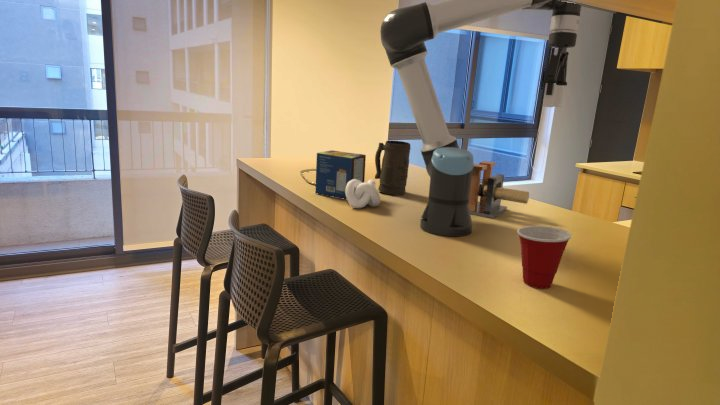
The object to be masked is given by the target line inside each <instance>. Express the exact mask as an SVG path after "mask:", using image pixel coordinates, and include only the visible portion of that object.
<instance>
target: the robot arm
mask: <svg viewBox="0 0 720 405" xmlns="http://www.w3.org/2000/svg"><path fill="white" fill-rule="evenodd" d="M582 5H583V4H582ZM582 5H579V4H574V3H567V2H561V1H557V0H442V1H438V2H436V3H430V2H427V1H425V2H422V3H417V4H413V5H409V6H404V7H401V8H396V9H393V10H392V11H390V12H389V13H387V14H386V16H385V17H384V18H383V20H382V22H381V25H380V40H381V44H382V47H383V49H384V50H385V53H386V56H387V59H388V62H389V65H390V67H391V68H393V69H395V70H396V71H397V72H398V74H399V78H400V81H401V83H402V87H403V90H404V93H405V95H406V99H407V101H408V104H409V107H410V109H411V114H412V116H413V118H414V122H415V124H416V127H417V130H418V132H419V135H420V138H421V141H422V146H421V148H420V153H421V156H422V159H423V161H424V164H425V169H426V172H427V175H428V176H429V177H430V180H429V189H428V191H429V192H428V199H427V200H428V201H427V204H426V206H425V208H424V211H423V213H422V215H421V218H420V224H419V225H420V226H419V227H420V228H421V230H423V231H426V232H427V233H430V234H434V235H439V236H446V237H464V236H468V235H470V234H471V233H472V231H473V221H472V216H471V214H470V211H469V196H470V187H471V179H472V170H473V166H474V164H475V163H474V155H473V153H472V152H471V151H469V150H468V149H464V148H460V145H459V143H458V141H457V137H455V136H454V135H451V134H450V131H449V129H448V126H447V123H446V120H445V117H444V113H443V111H442V108H441V105H440V101H439V98H438V96H437V93H436V90H435V87H434V84H433V82H432V78H431V76H430V71H429V68H428V66H427V63H426V60H425V59H426V57H427V54H428V50H427V47H426V44H425V42H427V41H430V40H434V39H435V38H436V37H437V35H438V34H442V33H444V32H447V31H451V30H455V29H459V28H461V27H464V26H467V25H468V26H469V25H471V24H475V23H477V22H481V21H485V20H488V19H492V18H495V17H499V16H501V15H505V14H509V13H512V12H515V11H519V10H523V11H524V10H537V11H538V10H539V11H540V10H541V11H544V10H545V11H552V14H551V20H550V26H549V32H551V33H549V35H548V42H547V46H548V47H549V48H551V52H550V58H549V61H548V66H547V70H546V73H545V74H546V75H545V77H544V79H542V80H543V81H542V83H543V84H545V87H544V94H543V103H542V108H545V107H546V108H553V107H555V108H561V107H562V101H563V96H564V89H565V86H568V81H567V73H568V72H567V70H568V59H569V51H568V50H567V49H568V48H574V47H576V45H577V37H578V34H577V33H576V32H578V28H579V24H582V19H580V17H581V12H582Z"/></svg>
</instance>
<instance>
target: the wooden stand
mask: <svg viewBox="0 0 720 405" xmlns="http://www.w3.org/2000/svg"><path fill="white" fill-rule="evenodd" d="M495 166H496V161H488V160H482V161H481V162H480V161H479V163H474V166H473V170H472V179H471V187H470V196H469V211H470V215H474V216H478V217H484V218H489V219H493V218H494V219H495V218H497V217H499V214H500V215H501V214H503V213H504V212H505V211H507V210H508V206H505V205H501V202H502V200H501V199H495V198H494V194H495V187H501V188H504V180H505V174H502V173H501V174H500V173H497V174H496V175H493V167H495ZM482 171H483V172H482ZM481 175H482V179H481ZM492 175H493V176H492ZM481 180H482V181H481ZM480 184H484V185H487V193H486V197H481V196H478V194H479V186H480ZM479 197H480V198H479ZM506 209H507V210H506ZM503 211H504V212H503Z"/></svg>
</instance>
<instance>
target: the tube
mask: <svg viewBox="0 0 720 405" xmlns="http://www.w3.org/2000/svg"><path fill="white" fill-rule="evenodd" d="M486 193H487V185H484V184H482V183H480V186H479V194H478V197H480V196H481V197H486ZM494 198H495V199H501V201H508V202H514V203H520V204H526V205H528V202H529V198H530V192H529V191H525V190H518V189H513V188H507V187H503V188H501V187H495V194H494Z"/></svg>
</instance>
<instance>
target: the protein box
mask: <svg viewBox="0 0 720 405" xmlns="http://www.w3.org/2000/svg"><path fill="white" fill-rule="evenodd" d="M366 159H367V158H366V154H362V153H354V152H346V151H338V150H326V151H320V152H316V167H315V169H316V172H315V183H316V185H315V194H316V193H318V194H317V195H320V194H323V195H322V196H325V195H328V196H327V197H330V196H334V197H333V198H335V197H339V198H338V199H340V198H344V199H343V200H345V199H347V198H346V193H345V190H346V185H347V183H348V182H349V181H351V180H353V179H356V180H359V181H361V182H362V183H364V182H365V176H366V174H365V173H366ZM355 189H356V188H355ZM355 189H354V192H355Z"/></svg>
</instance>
